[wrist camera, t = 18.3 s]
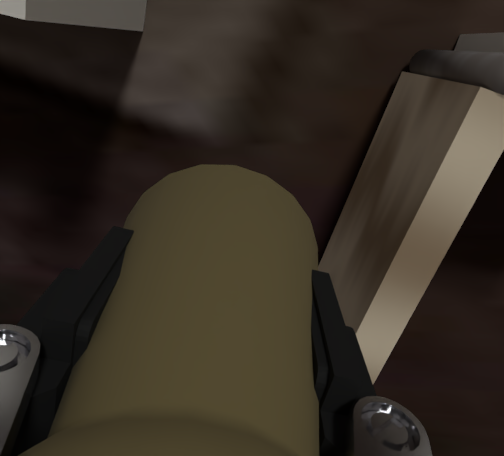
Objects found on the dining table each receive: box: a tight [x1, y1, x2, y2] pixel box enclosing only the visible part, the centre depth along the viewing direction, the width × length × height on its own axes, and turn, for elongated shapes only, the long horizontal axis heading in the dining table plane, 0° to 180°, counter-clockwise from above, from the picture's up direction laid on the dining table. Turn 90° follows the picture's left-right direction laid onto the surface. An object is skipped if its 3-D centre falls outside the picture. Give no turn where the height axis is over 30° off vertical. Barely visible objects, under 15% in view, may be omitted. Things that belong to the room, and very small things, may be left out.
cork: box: [18, 165, 319, 456], centre depth 8 cm, size 6×6×11 cm
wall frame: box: [0, 0, 504, 53], centre depth 13 cm, size 31×3×10 cm, turn 76°
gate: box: [318, 50, 504, 384], centre depth 17 cm, size 12×2×7 cm, turn 162°
